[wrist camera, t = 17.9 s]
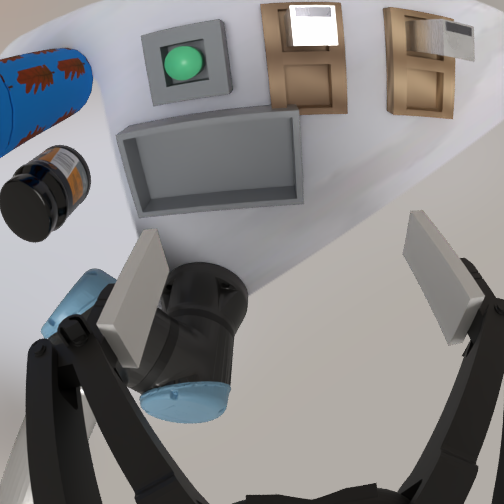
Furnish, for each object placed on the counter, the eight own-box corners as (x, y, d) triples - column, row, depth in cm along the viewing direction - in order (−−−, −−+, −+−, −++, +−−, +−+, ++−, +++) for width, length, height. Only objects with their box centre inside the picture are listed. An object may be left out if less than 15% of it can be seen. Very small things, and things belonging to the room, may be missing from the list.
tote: (300, 188, 44) (303, 204, 40) (148, 202, 46) (139, 218, 42) (295, 103, 37) (299, 110, 33) (128, 125, 39) (115, 135, 35)
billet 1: (320, 45, 32) (338, 45, 23) (286, 46, 32) (294, 45, 24) (317, 15, 29) (334, 5, 21) (283, 16, 30) (289, 5, 21)
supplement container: (85, 137, 40) (39, 171, 30) (100, 201, 46) (64, 246, 36) (34, 148, 40) (-13, 181, 30) (50, 205, 46) (11, 246, 37)
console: (232, 89, 36) (229, 94, 33) (163, 100, 37) (153, 106, 34) (223, 22, 31) (219, 19, 27) (152, 36, 31) (140, 35, 28)
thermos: (39, 47, 30) (-101, 90, 10) (99, 47, 32) (-48, 82, 12) (33, 115, 37) (-90, 193, 17) (89, 122, 38) (-36, 211, 18)
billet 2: (432, 53, 30) (475, 62, 22) (405, 50, 30) (444, 55, 22) (431, 25, 28) (474, 26, 20) (403, 21, 28) (443, 18, 20)
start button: (207, 74, 33) (202, 77, 31) (174, 80, 33) (167, 83, 31) (202, 43, 31) (197, 43, 28) (169, 49, 31) (161, 50, 29)
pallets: (444, 114, 35) (452, 119, 33) (272, 112, 38) (272, 116, 36) (444, 19, 27) (453, 19, 25) (260, 6, 29) (260, 4, 27)
